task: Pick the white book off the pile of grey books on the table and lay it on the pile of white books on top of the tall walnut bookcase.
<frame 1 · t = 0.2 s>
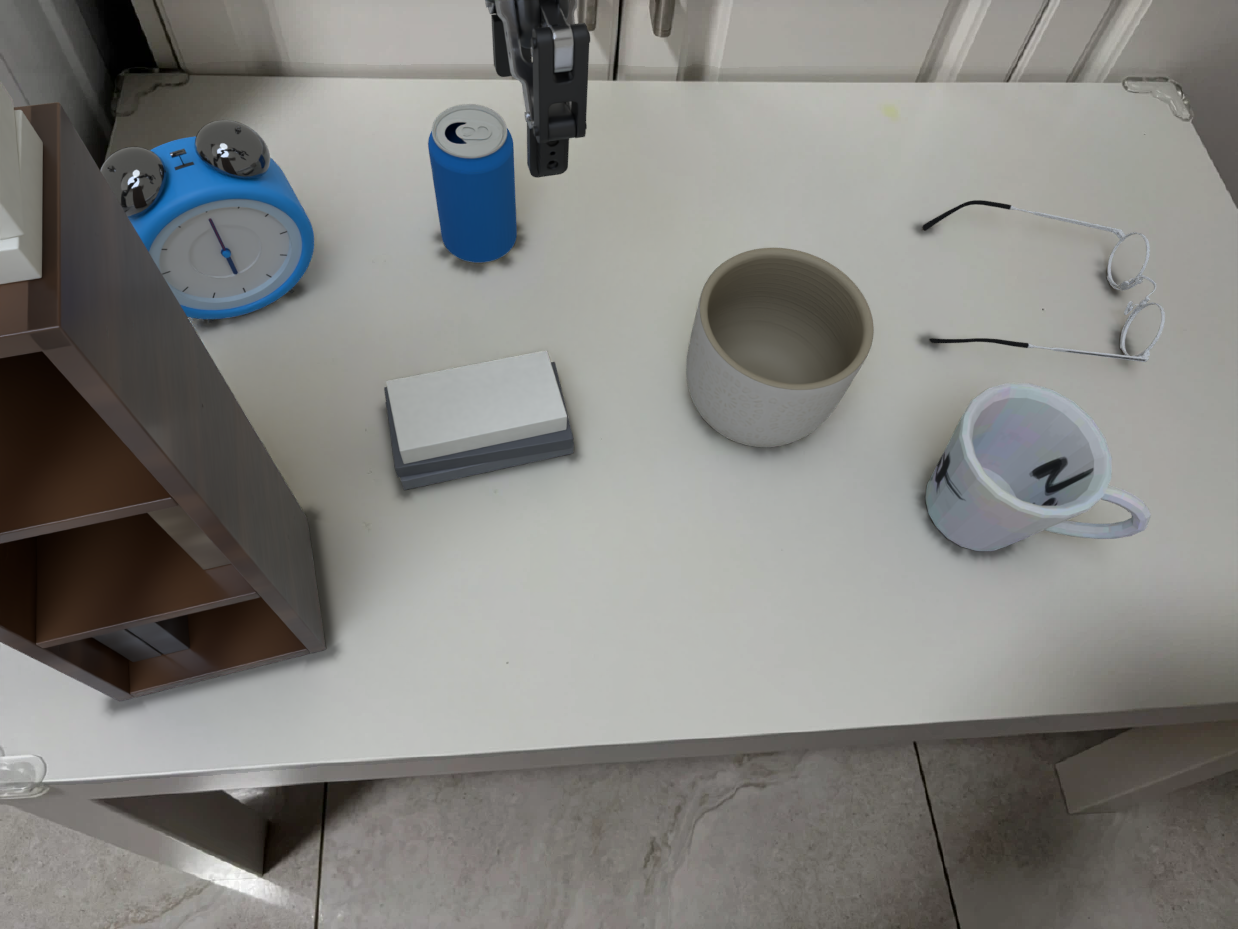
hand: (529, 120, 51), 22 cm above the table, tool pointing down, fingers open, 8 cm apart
alarm clock: (243, 289, 71), on the table
white book: (478, 412, 64), point 3 cm above the table, touching grey book pile
eyeglasses: (1024, 300, 77), on the table
bookcase: (218, 604, 58), on the table
grey book pile: (480, 432, 66), on the table
beverage can: (480, 241, 75), on the table
planter: (752, 398, 70), on the table
mug: (998, 520, 66), on the table
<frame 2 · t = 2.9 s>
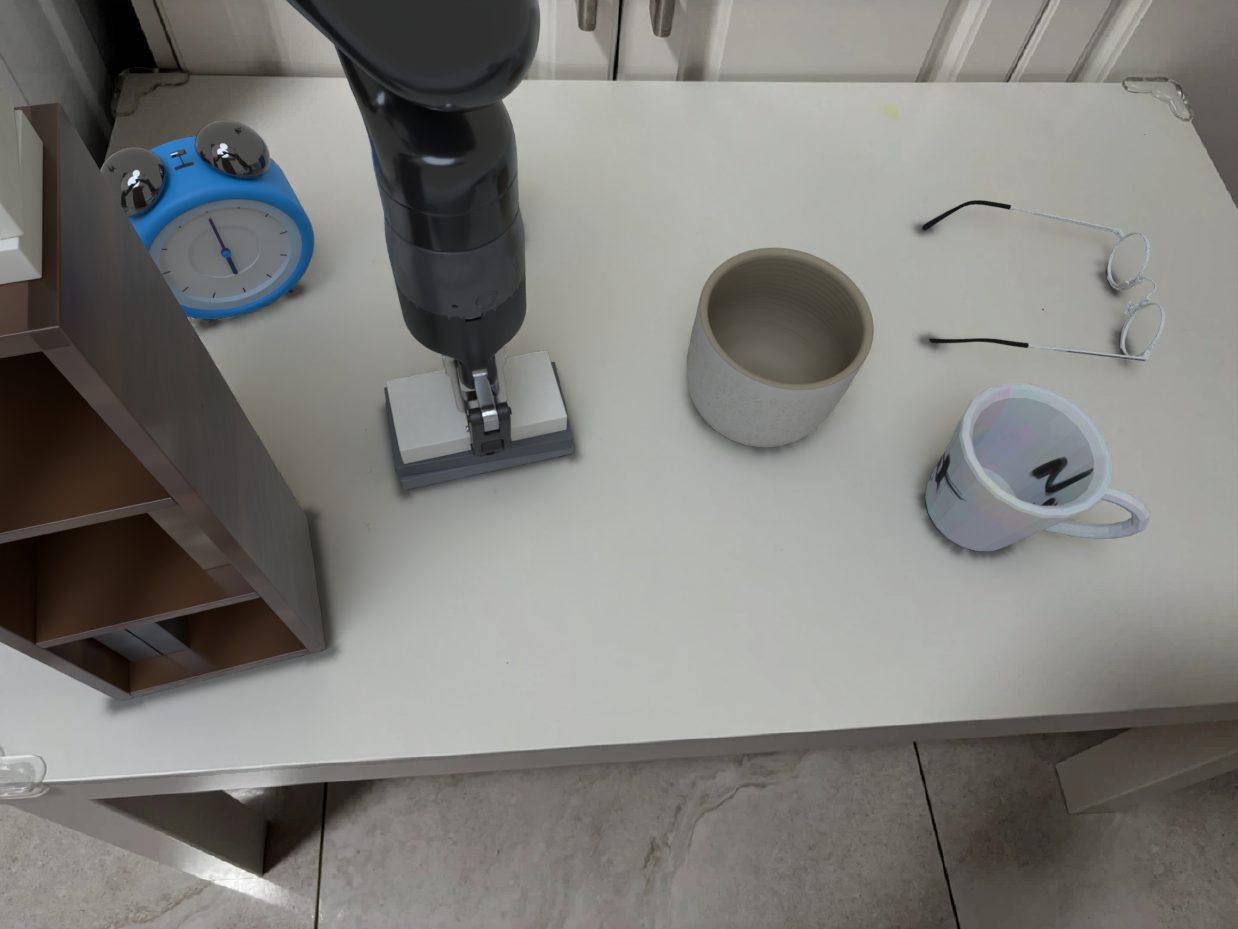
hand: (478, 411, 63), 3 cm above the table, tool pointing down, fingers closed on white book, 6 cm apart
white book: (478, 412, 64), point 3 cm above the table, touching grey book pile, gripper
everything else where it was.
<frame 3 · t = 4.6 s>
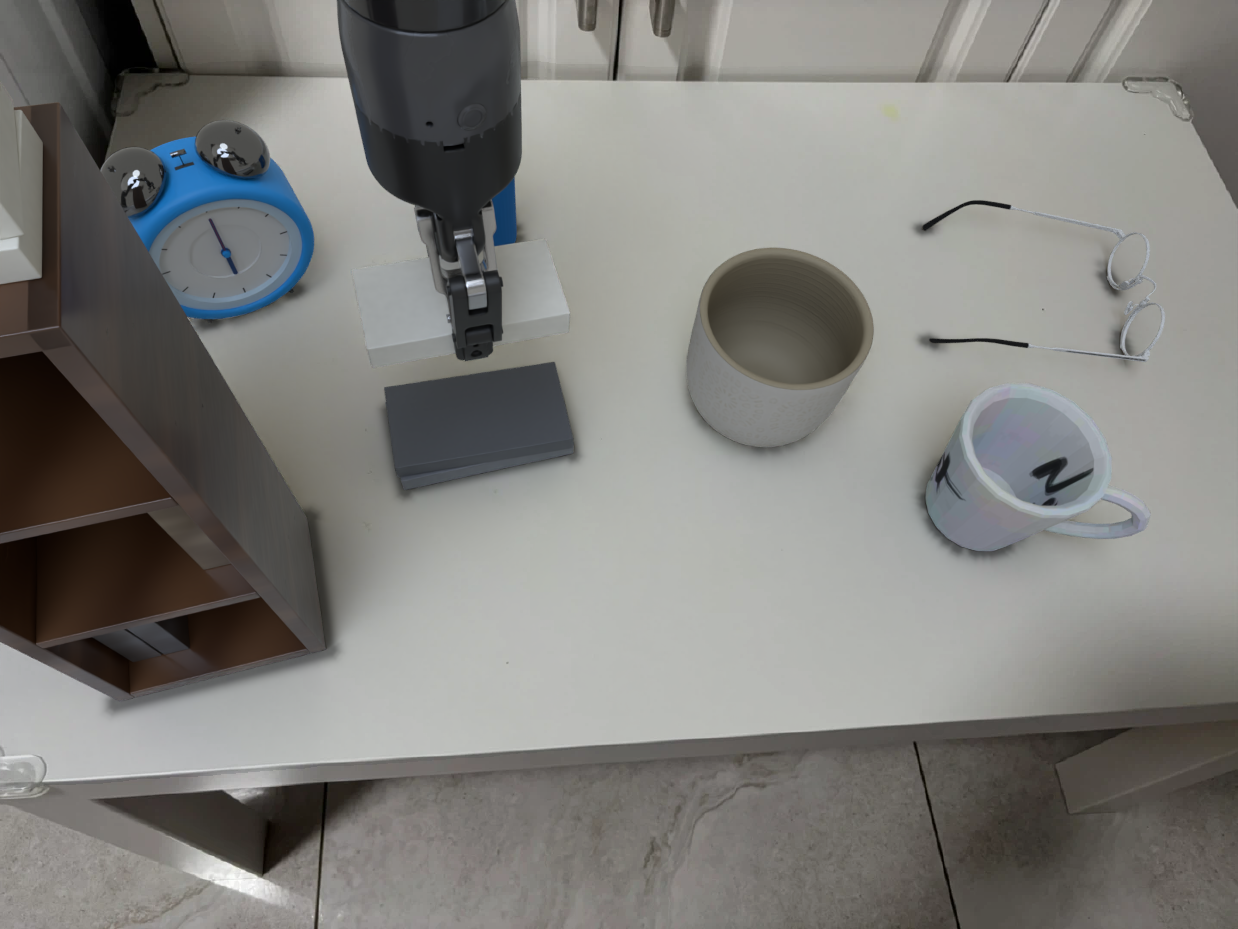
hand: (463, 310, 53), 15 cm above the table, tool pointing down, fingers closed on white book, 6 cm apart
white book: (463, 311, 53), point 15 cm above the table, touching gripper
everything else where it was.
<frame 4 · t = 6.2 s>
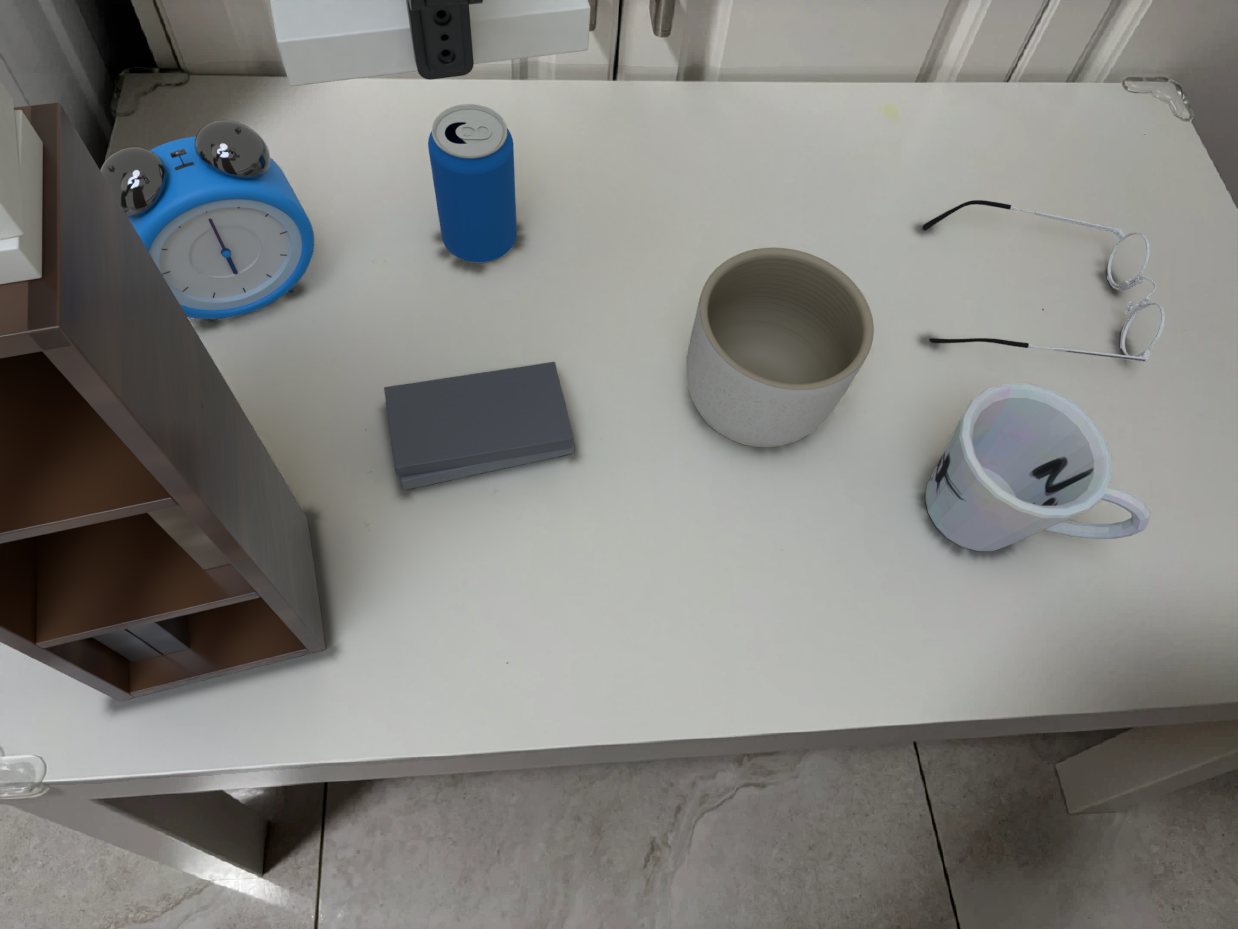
hand: (429, 17, 35), 35 cm above the table, tool pointing down, fingers closed on white book, 6 cm apart
white book: (430, 20, 36), point 35 cm above the table, touching gripper
everything else where it was.
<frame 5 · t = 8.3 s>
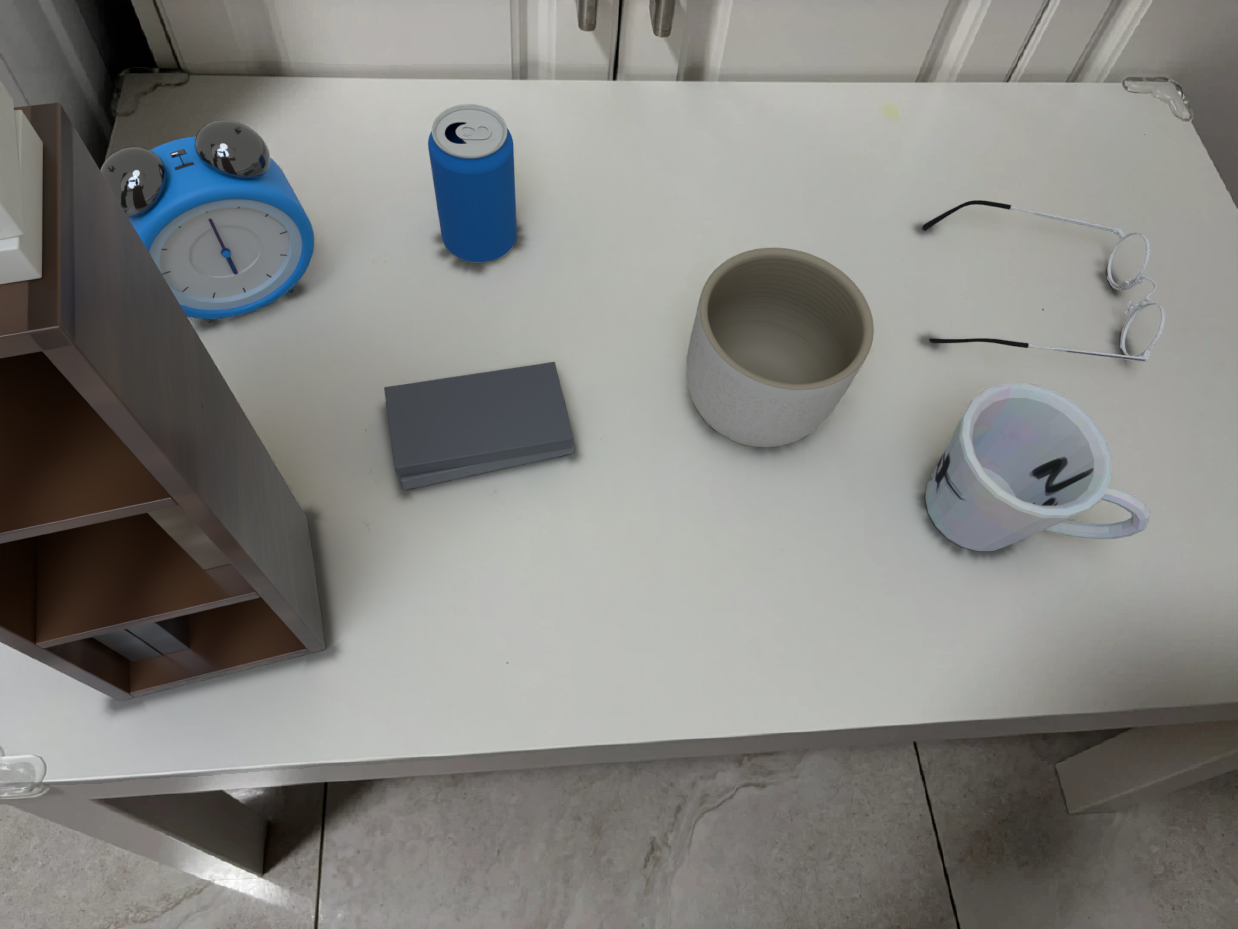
when the fingers open (39 cm above the table, at t = 9.5 s): white book stays where it is, resting on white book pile.
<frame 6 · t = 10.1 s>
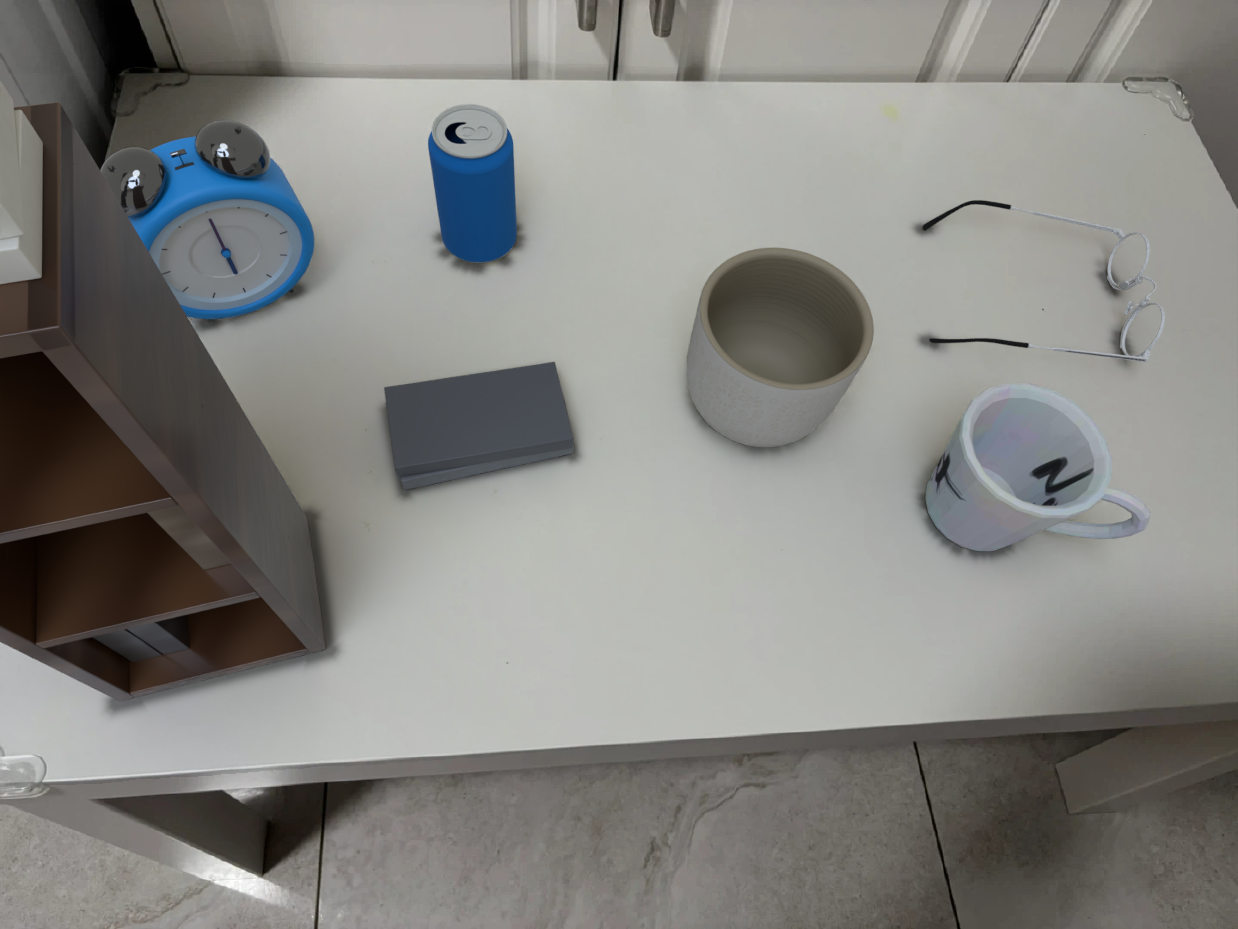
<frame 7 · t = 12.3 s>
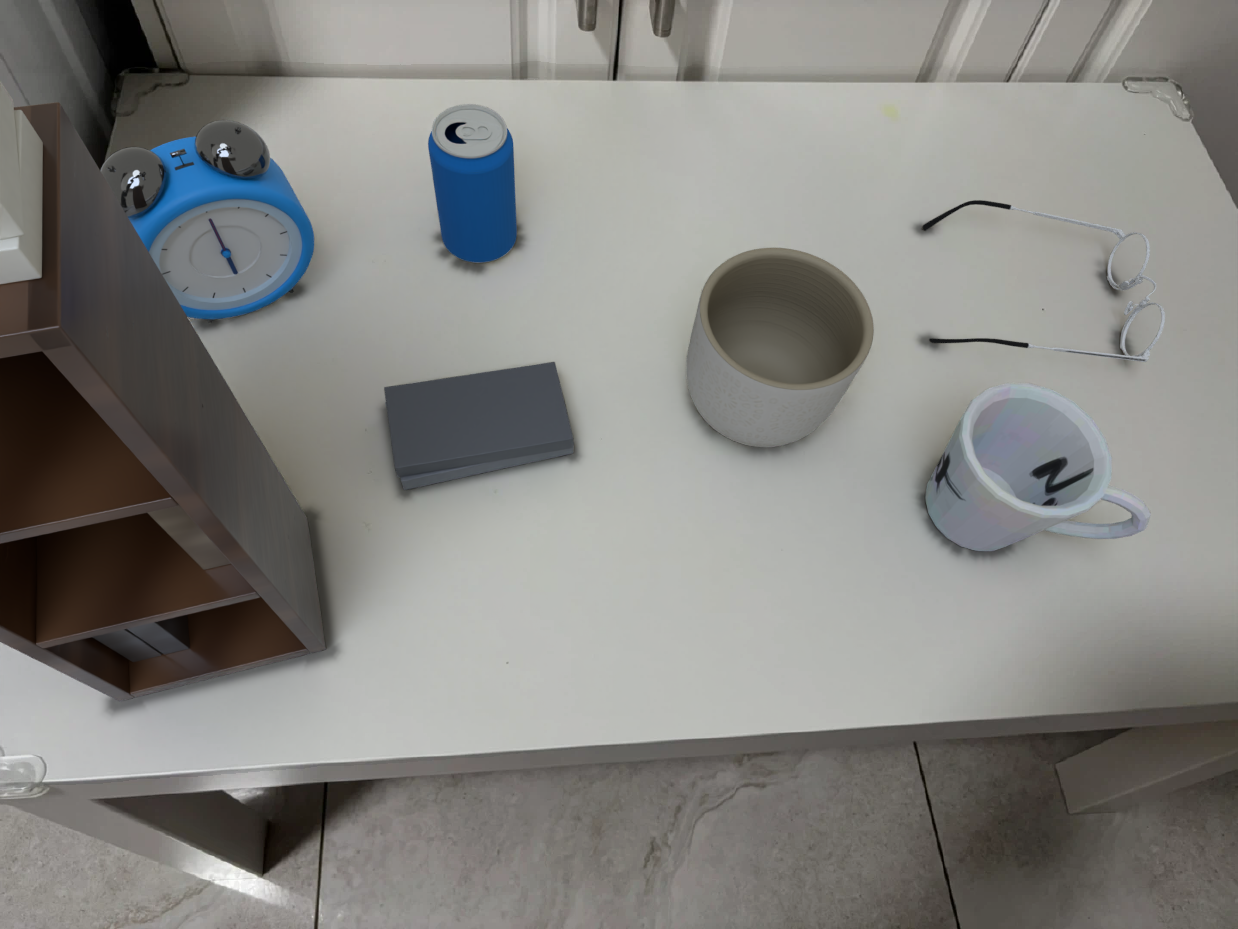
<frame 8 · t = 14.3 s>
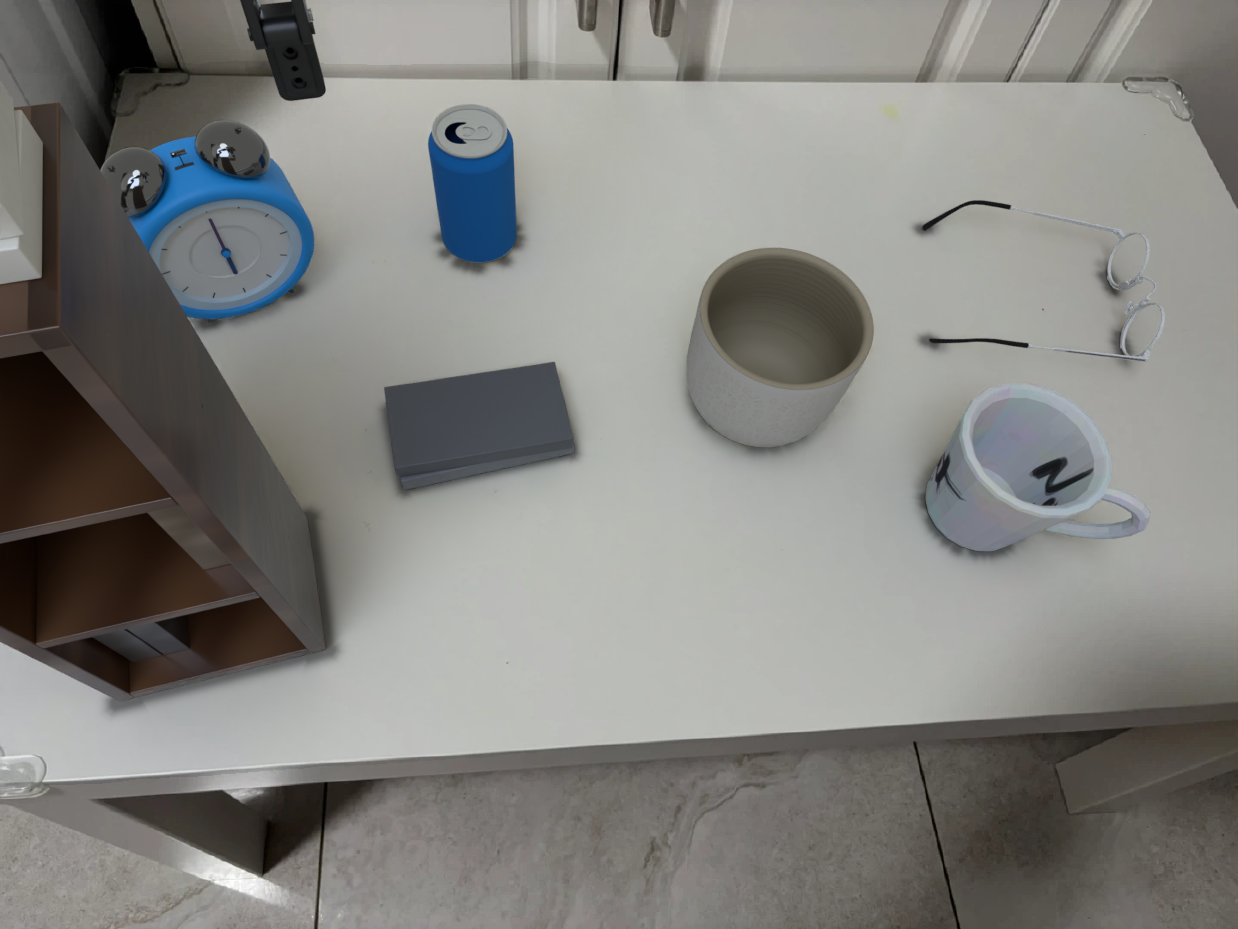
hand: (293, 38, 44), 28 cm above the table, tool pointing down, fingers open, 8 cm apart
at the end: white book 0.0 cm off-centre on the bookcase, point 38.8 cm above the bookcase's base; white book tilted 0°; the gripper is holding nothing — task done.
